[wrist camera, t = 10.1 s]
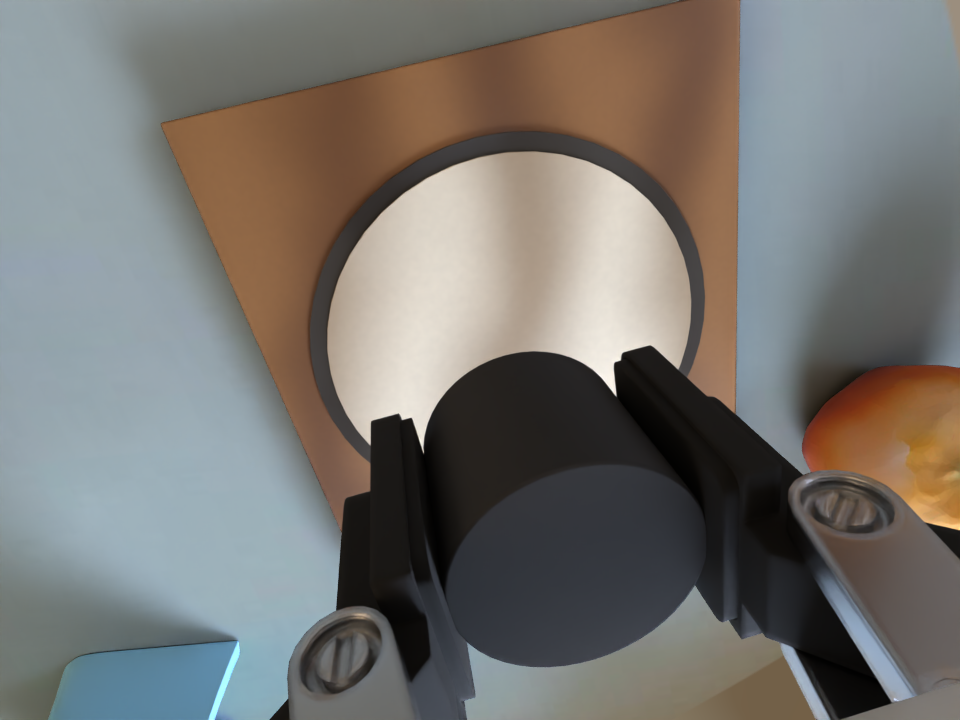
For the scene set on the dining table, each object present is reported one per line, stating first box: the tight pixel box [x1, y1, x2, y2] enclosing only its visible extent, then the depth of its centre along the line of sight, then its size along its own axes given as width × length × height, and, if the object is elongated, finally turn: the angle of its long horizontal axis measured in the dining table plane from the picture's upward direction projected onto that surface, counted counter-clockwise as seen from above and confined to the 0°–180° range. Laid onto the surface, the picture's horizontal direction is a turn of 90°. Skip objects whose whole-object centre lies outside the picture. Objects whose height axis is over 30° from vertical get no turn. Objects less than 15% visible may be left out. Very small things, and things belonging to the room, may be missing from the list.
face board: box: [161, 0, 740, 533], centre depth 22 cm, size 18×20×1 cm
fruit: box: [802, 365, 960, 530], centre depth 25 cm, size 8×8×8 cm
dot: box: [423, 351, 706, 667], centre depth 10 cm, size 4×4×4 cm
